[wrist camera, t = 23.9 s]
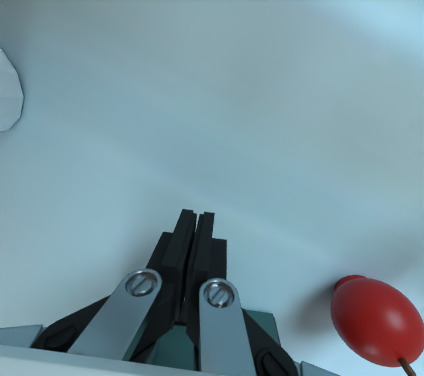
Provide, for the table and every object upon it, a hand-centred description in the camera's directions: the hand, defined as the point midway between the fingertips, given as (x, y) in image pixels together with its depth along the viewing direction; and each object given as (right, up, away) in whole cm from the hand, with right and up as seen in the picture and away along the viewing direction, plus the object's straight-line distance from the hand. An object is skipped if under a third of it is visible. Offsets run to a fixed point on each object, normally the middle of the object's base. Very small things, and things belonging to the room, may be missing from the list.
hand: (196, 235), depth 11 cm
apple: (+14, -7, +8) cm, 17 cm away
